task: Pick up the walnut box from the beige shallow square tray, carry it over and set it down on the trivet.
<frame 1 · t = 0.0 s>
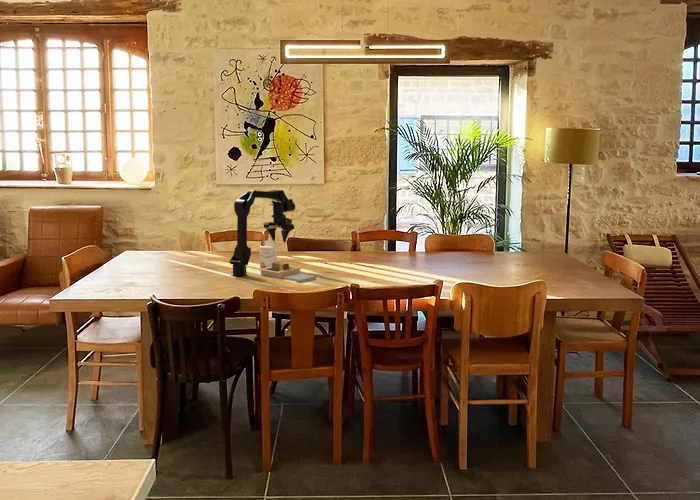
hand: (279, 241, 407), 15 cm above the table, fingers open, 8 cm apart
trivet: (299, 279, 381), on the table
beige shallow square tray: (280, 275, 391), on the table
ink cartridge box: (268, 268, 412), on the table, touching gripper
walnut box: (280, 274, 391), resting on beige shallow square tray
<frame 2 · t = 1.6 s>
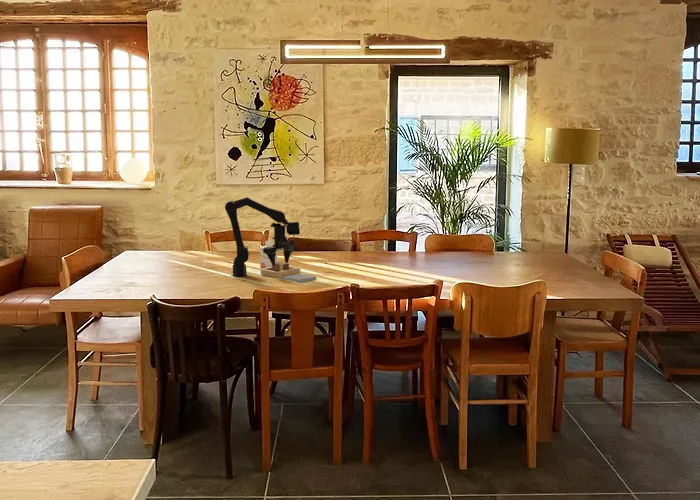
hand: (280, 264, 390), 6 cm above the table, fingers open, 9 cm apart
ink cartridge box: (268, 268, 412), on the table
everything else where it was.
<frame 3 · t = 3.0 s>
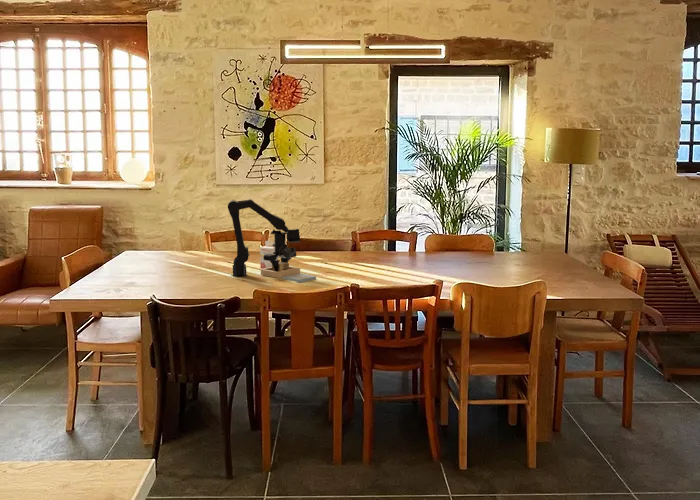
hand: (280, 271, 391), 2 cm above the table, fingers closed on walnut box, 4 cm apart
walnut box: (280, 274, 391), resting on beige shallow square tray, touching gripper
everything else where it was.
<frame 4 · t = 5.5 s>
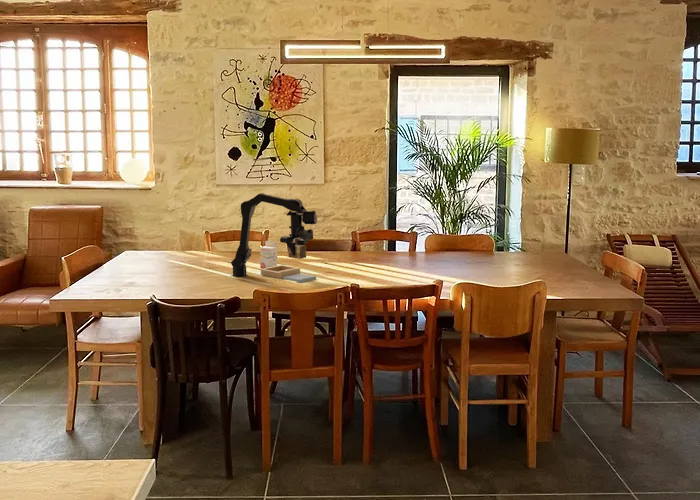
hand: (297, 254, 380), 12 cm above the table, fingers closed on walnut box, 4 cm apart
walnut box: (297, 257, 381), point 11 cm above the table, touching gripper
everything else where it was.
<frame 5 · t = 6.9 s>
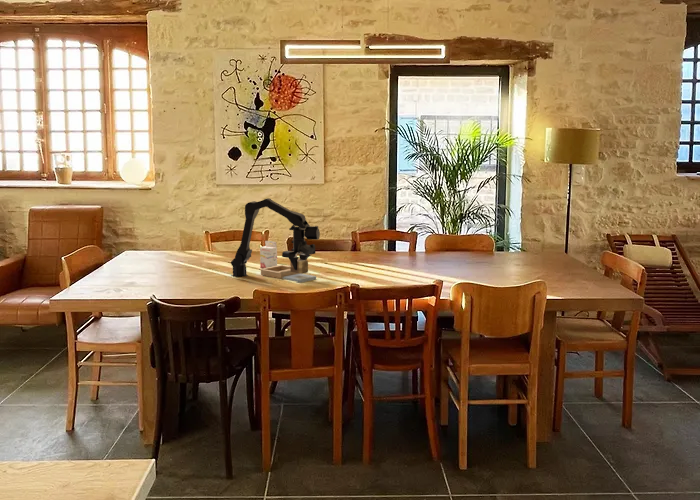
hand: (299, 269, 380), 5 cm above the table, fingers closed on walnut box, 4 cm apart
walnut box: (299, 272, 380), point 4 cm above the table, touching gripper
everything else where it was.
when the fingers open (4 cm above the table, at t = 7.9 s): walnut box drops 1 cm, resting on trivet.
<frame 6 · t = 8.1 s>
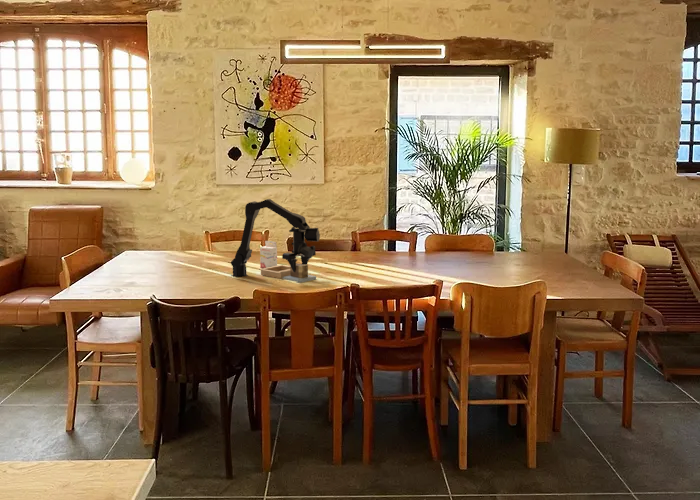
hand: (299, 271, 380), 4 cm above the table, fingers open, 7 cm apart
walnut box: (299, 276, 381), point 1 cm above the table, touching trivet
everything else where it was.
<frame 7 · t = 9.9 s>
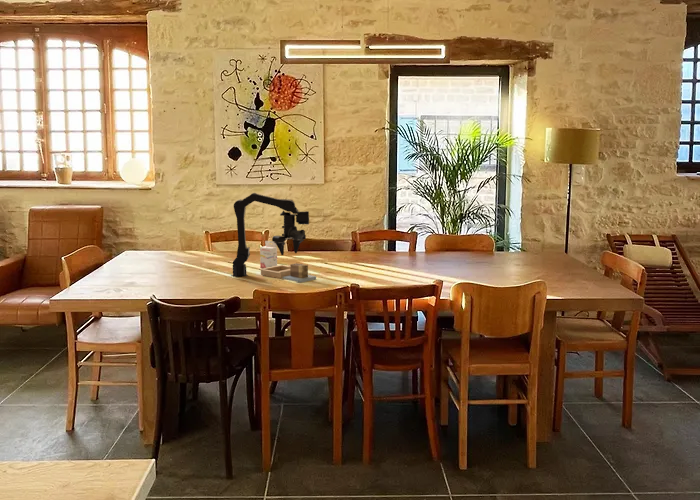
hand: (289, 254, 388), 12 cm above the table, fingers open, 9 cm apart
nothing on the table moved.
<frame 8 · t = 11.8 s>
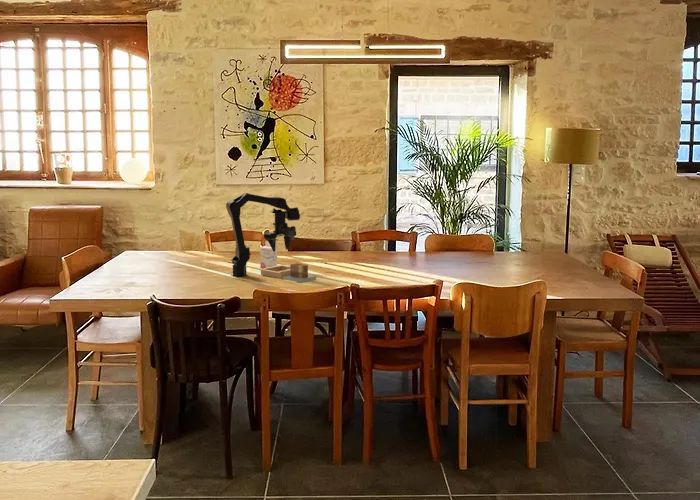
hand: (280, 250, 396), 12 cm above the table, fingers open, 9 cm apart
nothing on the table moved.
at the end: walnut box inside the target area on the trivet (0.2 cm from its centre), point 1.5 cm above the trivet's base; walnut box tilted 0°; the gripper is holding nothing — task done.
